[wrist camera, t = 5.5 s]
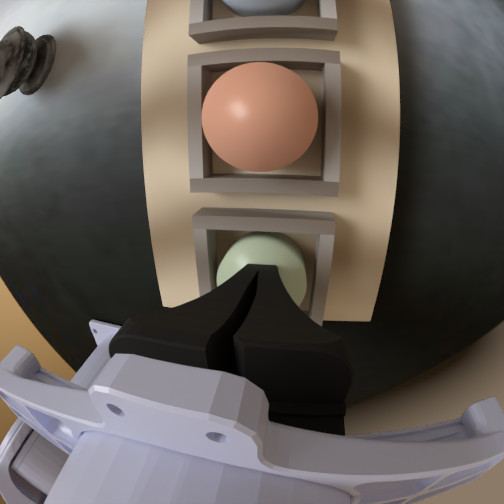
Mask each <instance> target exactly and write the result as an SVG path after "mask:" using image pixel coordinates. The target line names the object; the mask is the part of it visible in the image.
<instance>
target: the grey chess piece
mask: <svg viewBox="0 0 504 504" xmlns="http://www.w3.org/2000/svg"><path fill="white" fill-rule="evenodd" d="M54 56H55V41H54V39H53V37H52V36H50V35H43V36H41V37H39V38H37V39H36V40H35V39H34V37H33V36H32V35H31V34H30V33H28V32H26V31H24V29H23V28H22V27H20V26H18V27H14V28H13V29H11V30H10V31H9V32H8V33H7V34H6V35H5V36H4V37H3V39H2V40H1V41H0V99H1V98H2V97H3V96H6V95H8V94H10V93H12V92H14V91H16V90H17V89H18V88H19V89H20V92H21V93H22V94H24V95H30V94H33V93H34V92H35V91H37V90H38V89H39V88H40V86H41V85H42V84H43V82H44V81H45V79H46V78H47V76H48V73H49V71H50V69H51V66H52V63H53V60H54Z"/></svg>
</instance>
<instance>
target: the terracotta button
mask: <svg viewBox="0 0 504 504" xmlns="http://www.w3.org/2000/svg"><path fill="white" fill-rule="evenodd" d="M317 125H318V109H317V104H316V101H315V98H314V95H313V93H312V92H311V90H310V88H309V87H308V85H307V84H306V83H305V82H304V81H303V80H302V79H301V77H299V76H298V75H297V74H296V73H294V72H293V71H291V70H289V69H287V68H285V67H283V66H280V65H277V64H273V63H267V62H253V63H247V64H243V65H240V66H237V67H235V68H233V69H231V70H229V71H227V72H226V73H224V74H223V75H222V76H221V77H220V78H218V79H217V80H216V82H215V83H214V84H213V85H212V87H211V88H210V90H209V91H208V93H207V95H206V97H205V100H204V103H203V108H202V127H203V131H204V134H205V137H206V139H207V141H208V143H209V145H210V146H211V148H212V149H213V151H214V152H215V153H216V154H217V155H218V156H219V157H220V158H222V159H223V160H224V161H225V162H227V163H229V164H230V165H232V166H234V167H236V168H239V169H242V170H246V171H251V172H268V171H274V170H277V169H280V168H283V167H285V166H287V165H289V164H291V163H292V162H294V161H295V160H297V159H298V158H299V157H300V156H301V155H302V154H303V153H304V152H305V151H306V150H307V149H308V147H309V146H310V144H311V142H312V140H313V139H314V136H315V133H316V130H317Z"/></svg>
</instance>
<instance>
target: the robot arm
mask: <svg viewBox="0 0 504 504" xmlns="http://www.w3.org/2000/svg"><path fill="white" fill-rule="evenodd" d="M89 325H90V328H91V331H92V333H93V335H94V338H95V340H96V343H97V345H98V346H97V348H96V349H95V350H94V351H93V353H92V354H91V355H90V356H89V358H88V359H87V360H86V362H85V363H84V364H83V365H82V367H81V368H80V369H79V371H78V372H77V373H76V375H75V376H74V377H73V379H72V380H71V381H68V380H65V379H63V378H61V377H59V376H57V375H55V374H53V373H51V372H49V371H47V370H45V369H43V368H41V366H40V363H39V362H38V360H37V359H36V357H35V356H34V354H33V353H31V352H30V351H29V350H27V349H25V348H23V347H21V346H19V345H17V346H16V347H15V348H14V349H13V350H12V351H11V352H10V353H9V354H8V355H7V356H6V357H5V358H4V359H3V360H2V361H1V362H0V396H1V398H2V399H3V400H4V401H5V403H6V404H7V405H8V406H9V407H10V409H11V410H12V411H13V412H14V413H15V415H16V416H18V419H17V420H16V422H15V423H14V424H13V426H12V427H11V429H10V430H9V432H8V433H7V435H6V437H5V438H4V440H3V442H2V444H1V446H0V493H1V495H2V497H3V498H4V500H5V502H6V503H7V504H413V503H416V502H419V501H422V500H425V499H428V498H431V497H434V496H437V495H439V494H442V493H445V492H447V491H450V490H452V489H455V488H457V487H460V486H462V485H465V484H467V483H469V482H471V481H474V480H476V479H477V478H479V477H480V476H481V475H483V474H484V473H485V472H487V471H488V470H489V469H490V468H492V467H493V466H495V465H496V464H497V463H498V462H499V461H501V460H502V459H503V458H504V414H503V411H502V409H501V407H500V404H499V402H498V400H497V398H496V397H491V398H487V399H484V400H481V401H477V402H475V403H473V404H472V405H470V406H469V407H468V408H467V409H466V410H465V411H464V413H463V414H462V416H461V417H460V418H457V419H453V420H449V421H445V422H440V423H435V424H431V425H426V426H421V427H415V428H409V429H402V430H396V431H388V432H379V433H368V434H354V435H345V428H344V416H345V414H346V407H345V401H346V399H347V396H348V394H349V391H350V389H351V386H352V384H353V380H354V368H353V363H352V360H351V357H350V354H349V351H348V349H347V346H346V344H345V342H344V339H343V338H342V337H340V336H338V335H336V334H334V333H332V332H330V331H329V330H327V329H325V328H323V327H322V326H320V325H319V324H317V323H316V322H314V321H313V320H312V319H311V318H309V317H308V316H307V315H306V314H305V313H304V312H303V311H302V310H301V309H300V308H299V307H298V306H297V304H296V303H295V302H294V301H293V299H292V298H291V296H290V295H289V293H288V292H287V290H286V288H285V286H284V284H283V282H282V280H281V278H280V275H279V271H278V267H277V266H276V265H265V264H247V265H245V266H244V267H243V268H242V269H240V270H239V271H238V272H237V273H236V274H234V275H233V276H232V277H231V278H229V279H228V280H227V281H225V282H224V283H222V284H221V285H219V286H218V287H216V288H215V289H213V290H212V291H210V292H208V293H206V294H204V295H202V296H200V297H198V298H196V299H194V300H192V301H189V302H187V303H184V304H181V305H179V306H176V307H173V308H169V309H166V310H162V311H158V312H153V313H147V314H141V315H135V316H130V317H129V318H128V319H127V320H126V322H125V323H124V324H123V325H122V326H118V325H114V324H109V323H105V322H101V321H97V320H91V321H90V322H89Z"/></svg>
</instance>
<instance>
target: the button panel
mask: <svg viewBox="0 0 504 504" xmlns="http://www.w3.org/2000/svg"><path fill="white" fill-rule="evenodd" d="M253 62H267V63H273V64H277V65H280V66H283V67H285V68H287V69H289V70H291V71H293V72H294V73H296V74H297V75H298V76H299V77H301V79H302V80H303V81H304V82H305V83H306V84H307V85H308V87H309V88H310V90H311V92H312V93H313V95H314V98H315V101H316V104H317V109H318V125H317V130H316V133H315V136H314V139H313V140H312V142H311V144H310V146H309V147H308V149H307V150H306V151H305V152H304V153H303V154H302V155H301V156H300V157H299V158H298V159H297V160H295V161H294V162H292V163H291V164H289V165H287V166H285V167H283V168H280V169H277V170H274V171H268V172H251V171H246V170H242V169H239V168H236V167H234V166H232V165H230V164H229V163H227V162H225V161H224V160H223V159H222V158H220V157H219V156H218V155H217V154H216V153H215V152H214V151H213V149H212V148H211V146H210V145H209V143H208V141H207V139H206V137H205V134H204V131H203V127H202V108H203V103H204V100H205V97H206V95H207V93H208V91H209V90H210V88H211V87H212V85H213V84H214V83H215V82H216V80H217V79H218V78H220V77H221V76H222V75H223V74H224V73H226V72H227V71H229V70H231V69H233V68H235V67H237V66H240V65H243V64H247V63H253ZM141 125H142V150H143V166H144V179H145V190H146V200H147V209H148V218H149V226H150V233H151V240H152V247H153V253H154V260H155V266H156V272H157V277H158V283H159V288H160V293H161V298H162V303H163V306H165V307H172V308H173V307H176V306H179V305H181V304H184V303H187V302H189V301H192V300H194V299H196V298H198V297H200V296H202V295H204V294H206V293H208V292H210V291H212V290H213V289H215V288H216V287H217V272H218V269H219V266H220V264H221V262H222V260H223V258H224V257H225V255H226V253H227V251H228V250H229V248H230V246H231V245H232V244H233V243H234V242H235V241H236V240H237V239H238V238H239V237H241V236H243V235H244V234H247V233H249V232H253V231H263V232H277V233H280V234H282V235H284V236H286V237H288V238H289V239H291V240H292V241H293V242H294V243H295V244H296V245H297V246H298V247H299V249H300V250H301V252H302V254H303V257H304V260H305V266H306V281H307V288H306V293H305V296H304V299H303V301H302V303H301V304H300V305H299V308H300V309H301V310H302V311H303V312H304V313H305V314H306V315H307V316H308V317H309V318H311V319H312V320H313V321H314V322H316V323H317V324H319V325H320V326H322V323H323V320H331V321H370V320H371V317H372V313H373V309H374V305H375V302H376V298H377V294H378V289H379V285H380V281H381V276H382V272H383V267H384V262H385V257H386V252H387V247H388V241H389V235H390V229H391V223H392V216H393V209H394V201H395V192H396V183H397V172H398V159H399V140H400V86H399V68H398V55H397V45H396V37H395V29H394V22H393V16H392V10H391V5H390V0H305V2H304V3H303V5H302V6H301V7H300V8H299V9H297V10H296V11H295V12H293V13H291V14H289V15H287V16H283V15H278V16H249V17H241V16H239V15H236V14H235V13H233V12H232V11H230V10H229V9H228V8H227V7H226V6H225V4H224V3H223V1H222V0H147V8H146V16H145V26H144V38H143V52H142V75H141Z"/></svg>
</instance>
